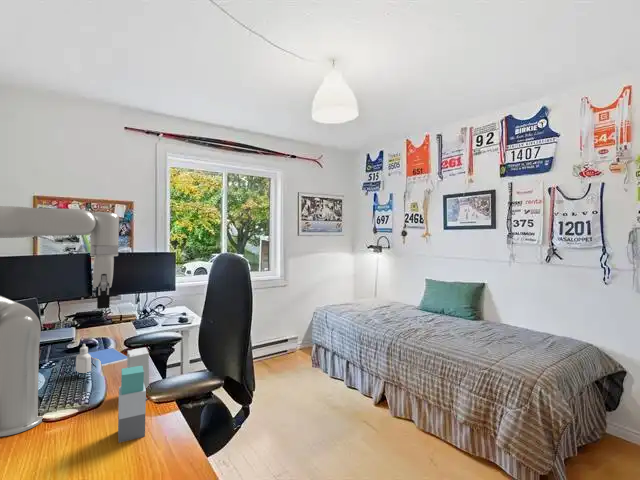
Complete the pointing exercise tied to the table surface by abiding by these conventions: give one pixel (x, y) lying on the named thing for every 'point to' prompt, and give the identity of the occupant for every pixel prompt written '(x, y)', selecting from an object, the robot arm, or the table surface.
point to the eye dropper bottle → (83, 360)
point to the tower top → (132, 404)
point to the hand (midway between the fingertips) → (103, 305)
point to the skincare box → (139, 362)
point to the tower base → (131, 427)
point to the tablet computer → (108, 356)
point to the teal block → (132, 379)
